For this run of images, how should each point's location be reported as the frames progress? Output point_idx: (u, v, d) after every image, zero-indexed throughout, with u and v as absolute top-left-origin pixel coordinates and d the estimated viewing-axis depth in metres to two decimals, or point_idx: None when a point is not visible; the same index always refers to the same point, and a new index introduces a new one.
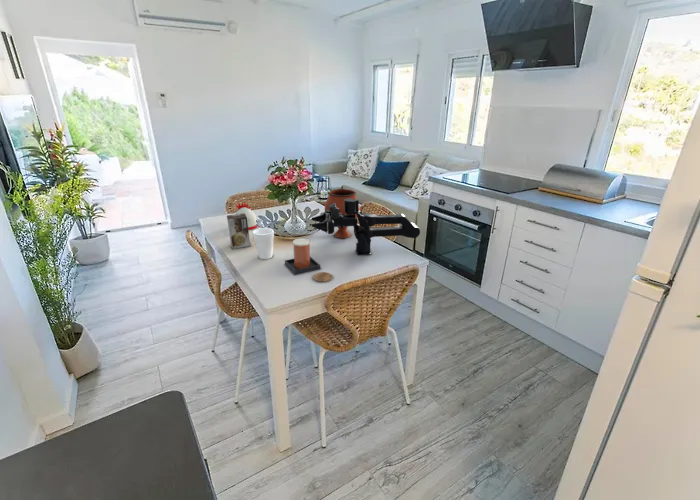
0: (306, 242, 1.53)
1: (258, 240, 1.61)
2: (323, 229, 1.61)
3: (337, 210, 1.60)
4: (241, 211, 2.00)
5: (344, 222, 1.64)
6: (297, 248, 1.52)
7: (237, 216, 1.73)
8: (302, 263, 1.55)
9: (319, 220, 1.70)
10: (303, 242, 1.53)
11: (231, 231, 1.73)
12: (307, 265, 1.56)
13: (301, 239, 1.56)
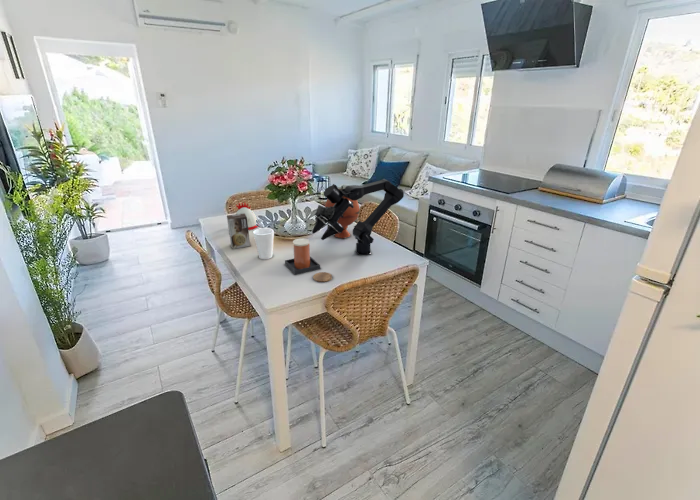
0: (306, 242, 1.53)
1: (258, 240, 1.61)
2: (333, 233, 1.54)
3: (328, 209, 1.51)
4: (241, 211, 2.00)
5: (341, 211, 1.56)
6: (297, 248, 1.52)
7: (237, 216, 1.73)
8: (302, 263, 1.55)
9: (319, 227, 1.62)
10: (303, 242, 1.53)
11: (231, 231, 1.73)
12: (307, 265, 1.56)
13: (301, 239, 1.56)
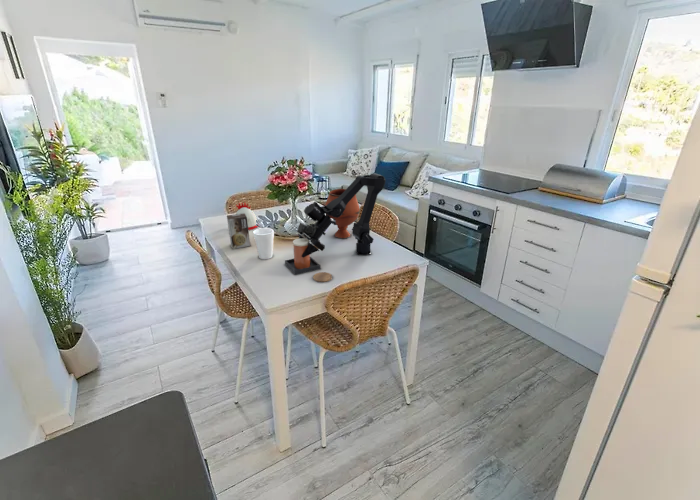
0: (306, 242, 1.53)
1: (258, 240, 1.61)
2: (313, 250, 1.53)
3: (309, 227, 1.49)
4: (241, 211, 2.00)
5: (323, 228, 1.54)
6: (297, 248, 1.52)
7: (237, 216, 1.73)
8: (302, 263, 1.55)
9: None
10: (303, 242, 1.53)
11: (231, 231, 1.73)
12: (307, 265, 1.56)
13: (301, 239, 1.56)
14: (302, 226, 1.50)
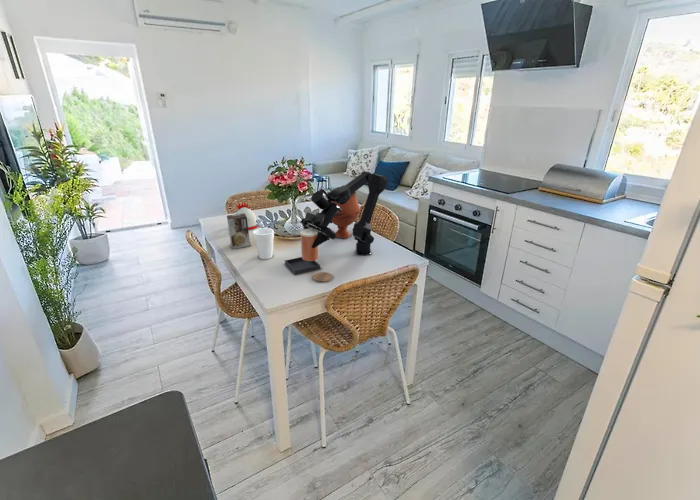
0: (315, 232, 1.46)
1: (258, 240, 1.61)
2: (324, 240, 1.46)
3: (319, 216, 1.42)
4: (241, 211, 2.00)
5: (330, 216, 1.48)
6: (307, 239, 1.44)
7: (237, 216, 1.73)
8: (312, 254, 1.47)
9: None
10: (312, 232, 1.45)
11: (231, 231, 1.73)
12: (316, 256, 1.49)
13: (308, 229, 1.48)
14: (311, 215, 1.42)
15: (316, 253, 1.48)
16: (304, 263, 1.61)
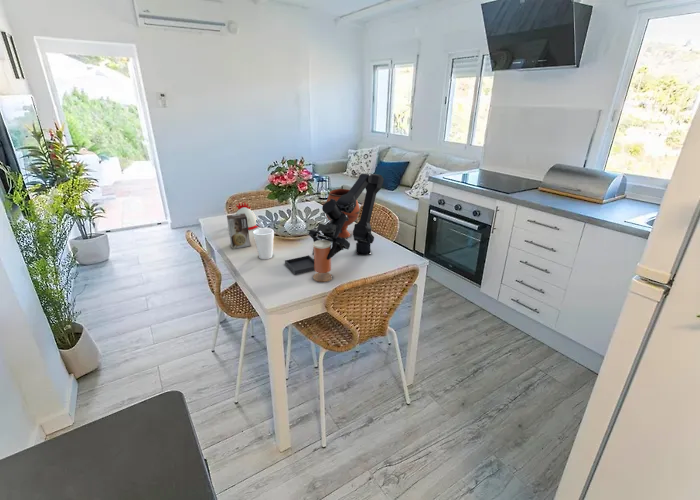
0: (328, 243, 1.43)
1: (258, 240, 1.61)
2: (337, 250, 1.44)
3: (333, 226, 1.40)
4: (241, 211, 2.00)
5: (341, 226, 1.47)
6: (322, 251, 1.41)
7: (237, 216, 1.73)
8: (327, 266, 1.44)
9: None
10: (325, 244, 1.42)
11: (231, 231, 1.73)
12: (330, 267, 1.46)
13: (319, 241, 1.45)
14: (325, 226, 1.39)
15: (330, 264, 1.46)
16: (304, 263, 1.61)
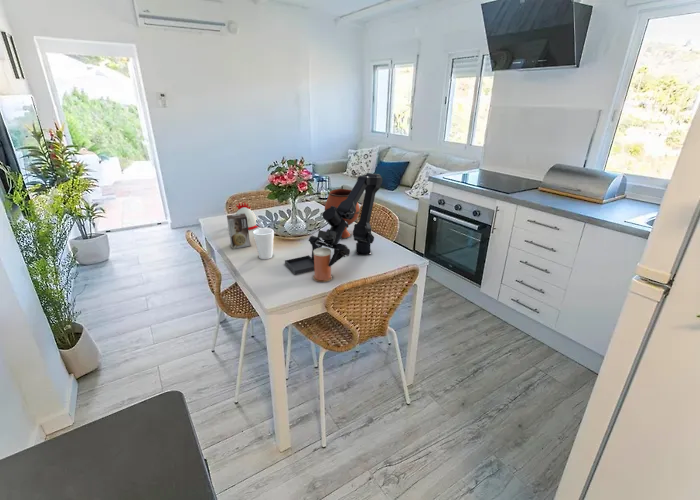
0: (328, 251, 1.44)
1: (258, 240, 1.61)
2: (339, 257, 1.45)
3: (334, 233, 1.41)
4: (241, 211, 2.00)
5: (341, 233, 1.48)
6: (322, 259, 1.42)
7: (237, 216, 1.73)
8: (327, 273, 1.45)
9: None
10: (326, 251, 1.44)
11: (231, 231, 1.73)
12: (330, 275, 1.48)
13: (319, 249, 1.46)
14: (325, 233, 1.41)
15: (330, 272, 1.47)
16: (304, 263, 1.61)
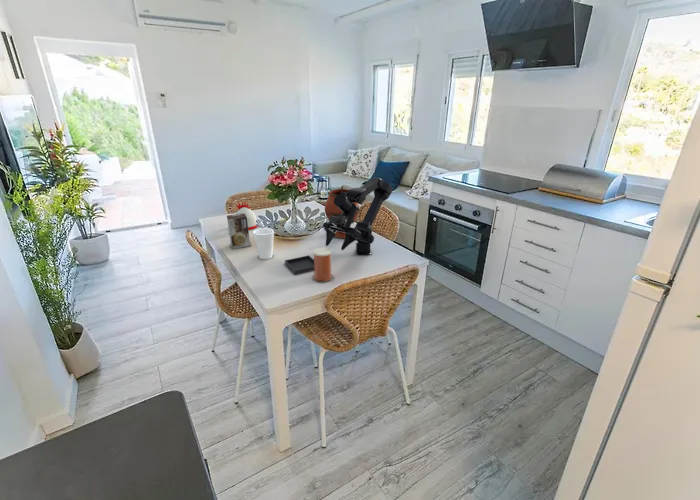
0: (328, 251, 1.44)
1: (258, 240, 1.61)
2: (351, 241, 1.51)
3: (343, 218, 1.47)
4: (241, 211, 2.00)
5: (352, 217, 1.53)
6: (322, 259, 1.42)
7: (237, 216, 1.73)
8: (327, 273, 1.45)
9: (331, 238, 1.57)
10: (326, 251, 1.44)
11: (231, 231, 1.73)
12: (330, 275, 1.48)
13: (319, 249, 1.46)
14: (335, 218, 1.47)
15: (330, 272, 1.47)
16: (304, 263, 1.61)
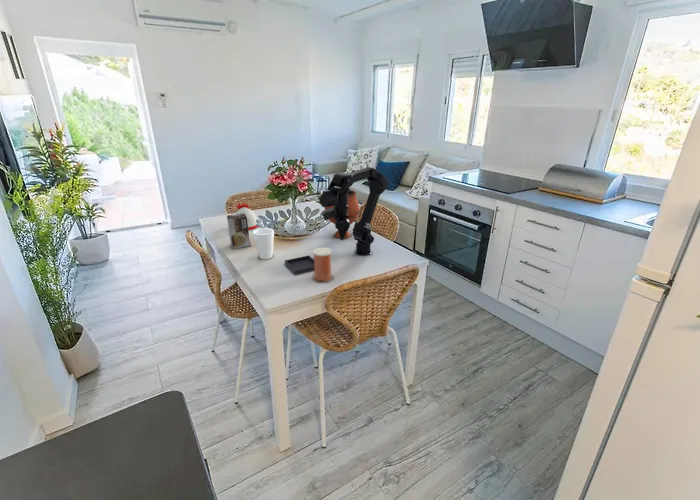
0: (328, 251, 1.44)
1: (258, 240, 1.61)
2: (346, 229, 1.52)
3: (326, 213, 1.50)
4: (241, 211, 2.00)
5: (341, 205, 1.50)
6: (322, 259, 1.42)
7: (237, 216, 1.73)
8: (327, 273, 1.45)
9: None
10: (326, 251, 1.44)
11: (231, 231, 1.73)
12: (330, 275, 1.48)
13: (319, 249, 1.46)
14: None
15: (330, 272, 1.47)
16: (304, 263, 1.61)
